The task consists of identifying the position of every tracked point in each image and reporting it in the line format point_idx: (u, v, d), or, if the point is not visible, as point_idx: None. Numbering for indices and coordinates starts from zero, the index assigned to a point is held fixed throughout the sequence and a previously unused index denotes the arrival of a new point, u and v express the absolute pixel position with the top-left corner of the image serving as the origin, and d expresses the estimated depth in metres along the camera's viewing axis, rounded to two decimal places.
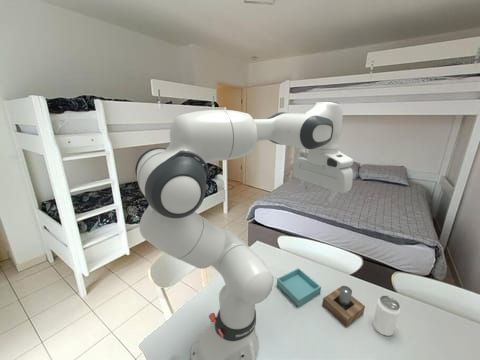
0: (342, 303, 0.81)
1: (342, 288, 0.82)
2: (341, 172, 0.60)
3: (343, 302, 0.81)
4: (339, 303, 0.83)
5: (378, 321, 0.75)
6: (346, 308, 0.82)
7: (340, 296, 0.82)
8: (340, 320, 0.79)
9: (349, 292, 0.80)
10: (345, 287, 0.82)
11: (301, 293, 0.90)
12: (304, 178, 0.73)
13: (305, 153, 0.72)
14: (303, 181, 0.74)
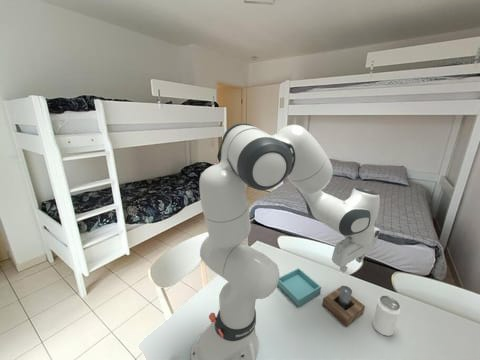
0: (342, 303, 0.81)
1: (342, 288, 0.82)
2: (377, 235, 0.76)
3: (343, 302, 0.81)
4: (339, 303, 0.83)
5: (378, 321, 0.75)
6: (346, 308, 0.82)
7: (340, 296, 0.82)
8: (340, 320, 0.79)
9: (349, 292, 0.80)
10: (345, 287, 0.82)
11: (301, 293, 0.90)
12: (350, 260, 0.72)
13: (347, 239, 0.70)
14: (346, 264, 0.73)
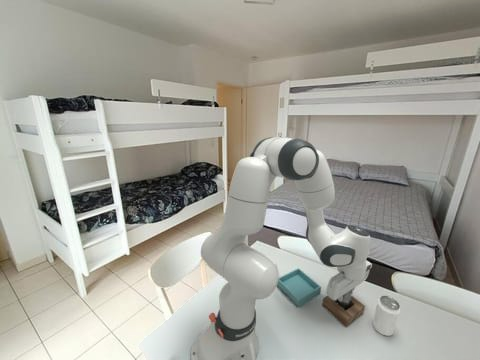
0: (342, 303, 0.81)
1: None
2: (369, 268, 0.81)
3: (343, 302, 0.81)
4: (339, 303, 0.83)
5: (378, 321, 0.75)
6: (346, 308, 0.82)
7: None
8: (340, 320, 0.79)
9: (349, 292, 0.80)
10: None
11: (301, 293, 0.90)
12: (343, 293, 0.77)
13: (340, 275, 0.74)
14: None
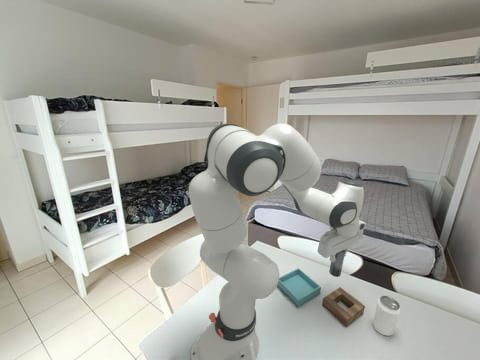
0: (334, 265, 0.78)
1: None
2: (363, 228, 0.78)
3: (335, 264, 0.78)
4: (332, 265, 0.80)
5: (378, 321, 0.75)
6: (339, 270, 0.79)
7: None
8: (340, 320, 0.79)
9: (342, 252, 0.77)
10: None
11: (301, 293, 0.90)
12: (336, 252, 0.74)
13: (332, 231, 0.72)
14: (335, 253, 0.76)
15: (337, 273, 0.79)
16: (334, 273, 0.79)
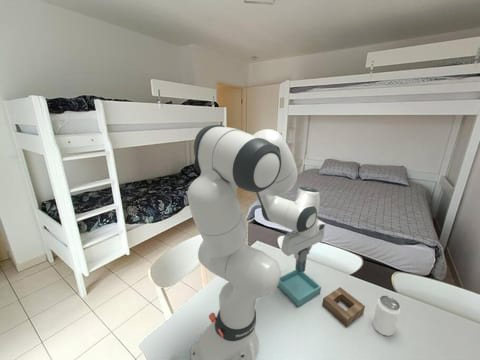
0: (298, 262, 0.87)
1: None
2: None
3: (299, 260, 0.87)
4: (296, 262, 0.88)
5: (378, 321, 0.75)
6: (302, 266, 0.87)
7: None
8: (340, 320, 0.79)
9: (305, 250, 0.86)
10: None
11: (301, 293, 0.90)
12: (297, 250, 0.82)
13: (293, 232, 0.80)
14: (298, 251, 0.84)
15: (301, 269, 0.88)
16: (299, 269, 0.88)
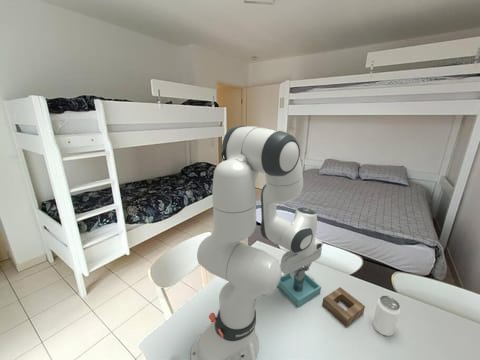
0: (296, 281, 0.90)
1: None
2: (321, 247, 0.89)
3: (297, 280, 0.90)
4: (294, 281, 0.91)
5: (378, 321, 0.75)
6: (300, 286, 0.90)
7: None
8: (340, 320, 0.79)
9: (302, 271, 0.89)
10: None
11: (301, 293, 0.90)
12: (295, 269, 0.85)
13: (291, 251, 0.83)
14: (293, 271, 0.86)
15: (299, 288, 0.91)
16: (296, 288, 0.91)
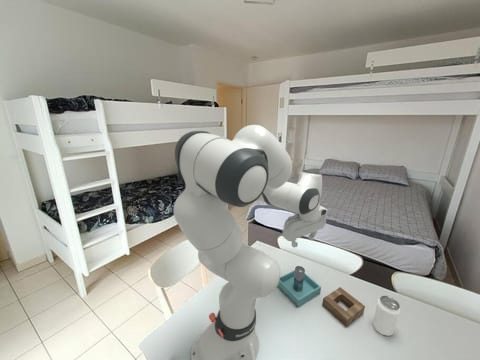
0: (296, 282, 0.90)
1: (296, 268, 0.91)
2: None
3: (297, 281, 0.90)
4: (294, 282, 0.91)
5: (378, 321, 0.75)
6: (300, 286, 0.90)
7: (295, 275, 0.91)
8: (340, 320, 0.79)
9: (302, 271, 0.89)
10: (300, 267, 0.91)
11: (301, 293, 0.90)
12: (299, 236, 0.80)
13: (295, 216, 0.78)
14: (295, 239, 0.81)
15: (299, 288, 0.91)
16: (296, 288, 0.91)
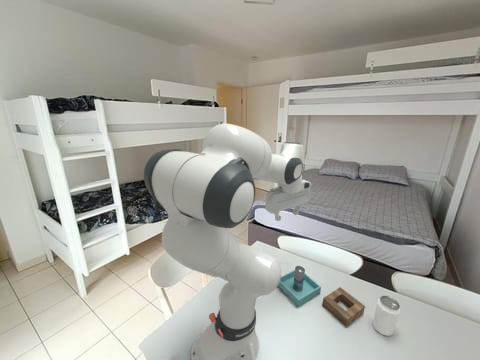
0: (296, 282, 0.90)
1: (296, 268, 0.91)
2: (309, 188, 0.84)
3: (297, 281, 0.90)
4: (294, 282, 0.91)
5: (378, 321, 0.75)
6: (300, 286, 0.90)
7: (295, 275, 0.91)
8: (340, 320, 0.79)
9: (302, 271, 0.89)
10: (300, 267, 0.91)
11: (301, 293, 0.90)
12: (282, 209, 0.80)
13: (277, 188, 0.78)
14: (278, 212, 0.81)
15: (299, 288, 0.91)
16: (296, 288, 0.91)
